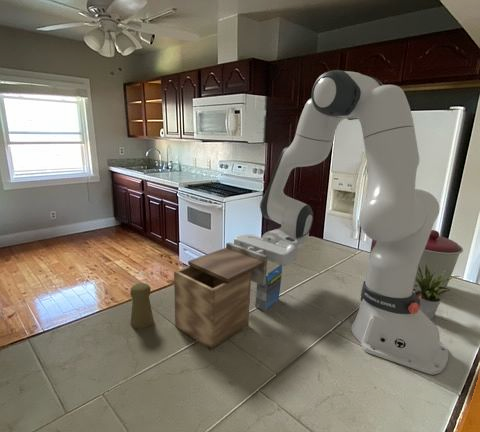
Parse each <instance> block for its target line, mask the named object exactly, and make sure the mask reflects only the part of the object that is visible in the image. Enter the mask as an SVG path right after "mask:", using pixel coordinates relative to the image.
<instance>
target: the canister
mask: <svg viewBox="0 0 480 432" xmlns="http://www.w3.org/2000/svg"><path fill="white" fill-rule="evenodd" d="M463 252H464V249H463V247H462V246H461V245H459V244H458V243H457V242H456V241H454V240H452V239H450V238H448V237H443V236H441V235H440V232H439V231H438V230H435V229H432V230H431V233H430V236H429V239H428V241H427V244H426V247H425V249H424V251H423V254H422V256H421V259H420V262H419V267H420V269H421V272H422V275H423V277H425V265H424V263H426V265H427V267H428V269H429V271H430V276H431V275H432V274H434V273H435V274H434V275H433V277H432V280H431V283H432V281H433V279H438V277H439V276H440V274H441V273H442V272H443V271H444V270H445V272H444V274H443V276H442V277H441V278H440V280H439V281H441V280H445V279H447V278H449V277H452V274H453V272H454V270H455V267H456V264H457V261H458V259H459V256H460V254H462V253H463ZM438 265H439V266H438ZM437 266H438V267H437ZM436 267H437V268H436ZM435 268H436V269H435ZM433 271H434V272H433ZM417 272H418V273H419V275H420V276H421V274H420V272H419V269H417ZM436 272H437V273H436ZM418 273H417V274H416V275H417V277H419V275H418ZM419 278H420V277H419ZM421 278H422V277H421ZM421 278H420V280H421ZM421 281H422V280H421ZM449 281H450V280H448V281H446V282H444V283H443V284H441V285H440V286H439V287H445V288H447V286H448V284H449ZM422 283H423V282H422ZM431 283H430V286H431ZM414 284H415V285H418V286H417V287H414V288H413V291H414V290H415V291H416V290H421V289H420V287H419V284H418V282H417V281H415V283H414ZM429 289H430V288H429ZM442 291H445V289H440V291H439V292H438V293H440V292H442ZM440 294H441V293H440Z"/></svg>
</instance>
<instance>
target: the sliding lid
mask: <svg viewBox="0 0 480 432" xmlns="http://www.w3.org/2000/svg"><path fill="white" fill-rule="evenodd" d="M225 244H226V245H225V247H223V248H221V249H219V250H216V251H212V252H209V253H207V254H204V255H202V256H199V257H196V258H193V259H191V260H188V263H187V266H192V267H194V268H197V269H199V270H201V271H203V272H205V273H207V274H210V275H212V276H214V277H216V278H218V279H221V280H223V281H225V282H227V283H228V282H230V281H232V280H234V279H236V278H238V277H241V276H243V275H245V274H247V273H249V272H251V282H253V283H256V284H257V283H258V284H260V285H262V286H264V285H266V276H267V273H268V272H267V270H268V269H267V268H268V260H267V255H264V254H261V253H258V252H255V251H252V250H249V249H246V248H243V247H241V246H238V245H235V244H234V243H232V242H227V243H225Z"/></svg>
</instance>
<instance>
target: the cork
mask: <svg viewBox="0 0 480 432" xmlns="http://www.w3.org/2000/svg"><path fill="white" fill-rule="evenodd" d="M129 292H130V293H129V294H130V297H131V298H132V301H131V302H132V305H131V314H130V326H131V327H132V328H134V329H138V330H139V329H145V328H148V327H150V326H151V325H152V324H154V314H153V311H152V306H151V301H150V295H151V292H152V291H151V286H150V284H148V283H145V282H140V283H139V282H137V283H135V284H133V285H132V287H130V291H129Z"/></svg>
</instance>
